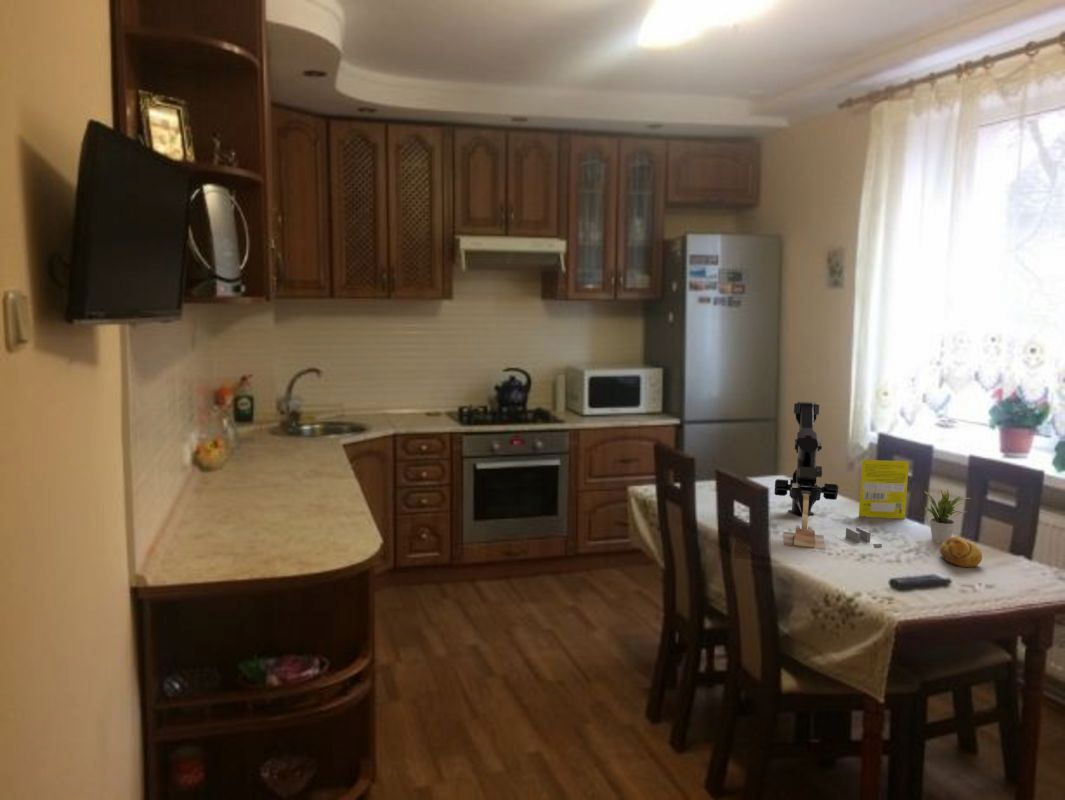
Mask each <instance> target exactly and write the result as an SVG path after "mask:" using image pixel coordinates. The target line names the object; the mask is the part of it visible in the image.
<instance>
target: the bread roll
mask: <svg viewBox="0 0 1065 800" xmlns="http://www.w3.org/2000/svg"><path fill="white" fill-rule="evenodd" d="M939 552H940V555H941V556H942V557H943V559H944V560H945V561H947V563H949V564H952V565H953V564H954V566H956V565H957V566H956V567H960V566H962V568H970V567H971V568H973V567H976V566H978V565H980V563H981V562H982V560H983V554H982V551H981V548H980V547H979V546H978V545H977V544H976V543H975V542H972V541H968V540H967V539H964V537H960V536H951V537H950V538H947V539H946V540H945V541H944V542H942V543H941V546H940V548H939Z"/></svg>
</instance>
